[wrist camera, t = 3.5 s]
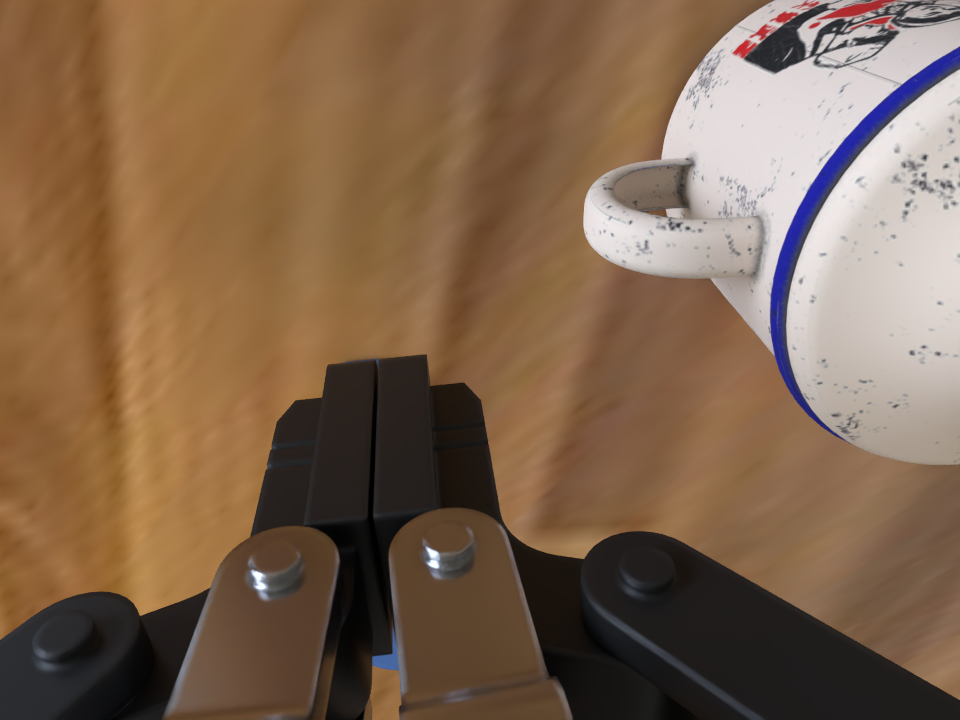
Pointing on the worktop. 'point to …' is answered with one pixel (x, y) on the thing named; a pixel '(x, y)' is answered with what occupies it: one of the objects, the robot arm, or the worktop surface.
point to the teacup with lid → (820, 209)
